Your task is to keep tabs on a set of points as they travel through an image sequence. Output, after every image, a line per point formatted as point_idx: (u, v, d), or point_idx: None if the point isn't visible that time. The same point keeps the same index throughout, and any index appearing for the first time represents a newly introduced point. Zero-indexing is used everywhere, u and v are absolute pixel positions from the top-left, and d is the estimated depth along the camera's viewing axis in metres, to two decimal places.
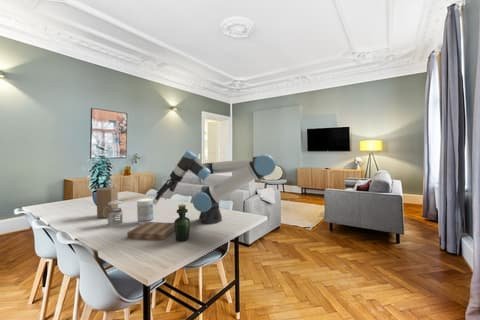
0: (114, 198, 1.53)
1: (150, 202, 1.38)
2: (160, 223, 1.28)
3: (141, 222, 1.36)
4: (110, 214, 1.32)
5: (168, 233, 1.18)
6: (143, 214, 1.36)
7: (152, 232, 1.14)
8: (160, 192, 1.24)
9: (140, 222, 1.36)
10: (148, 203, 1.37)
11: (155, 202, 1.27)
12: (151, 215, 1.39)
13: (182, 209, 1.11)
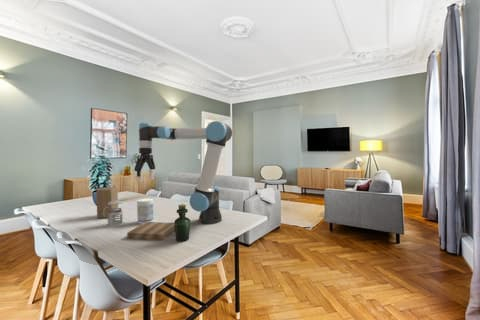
0: (114, 198, 1.53)
1: (150, 202, 1.38)
2: (160, 223, 1.28)
3: (141, 222, 1.36)
4: (110, 214, 1.32)
5: (168, 233, 1.18)
6: (143, 214, 1.36)
7: (152, 232, 1.14)
8: (137, 167, 1.29)
9: (140, 222, 1.36)
10: (148, 203, 1.37)
11: (139, 180, 1.32)
12: (151, 215, 1.39)
13: (182, 209, 1.11)
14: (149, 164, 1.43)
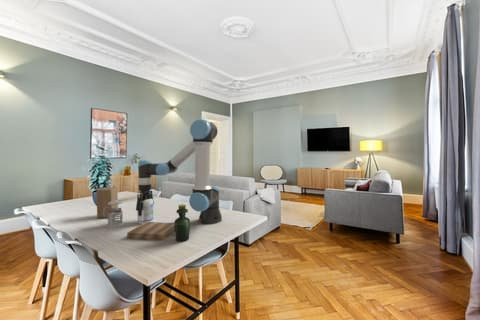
0: (114, 198, 1.53)
1: (150, 202, 1.38)
2: (160, 223, 1.28)
3: (141, 222, 1.36)
4: (110, 214, 1.32)
5: (168, 233, 1.18)
6: (143, 214, 1.36)
7: (152, 232, 1.14)
8: (138, 207, 1.32)
9: (140, 222, 1.36)
10: (148, 203, 1.37)
11: (141, 218, 1.35)
12: (151, 215, 1.39)
13: (182, 209, 1.11)
14: None
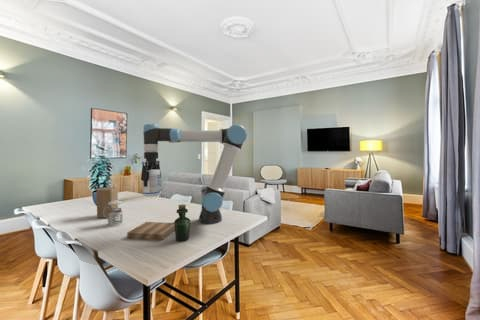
0: (114, 198, 1.53)
1: (157, 172, 1.21)
2: (160, 223, 1.28)
3: (147, 194, 1.19)
4: (110, 214, 1.32)
5: (168, 233, 1.18)
6: (149, 185, 1.19)
7: (152, 232, 1.14)
8: (143, 176, 1.15)
9: (146, 194, 1.19)
10: (155, 173, 1.20)
11: (147, 190, 1.18)
12: (158, 187, 1.22)
13: (182, 209, 1.11)
14: None
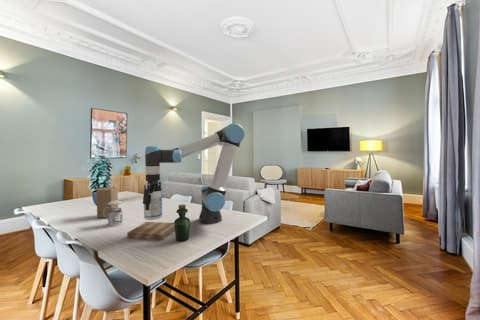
0: (114, 198, 1.53)
1: (159, 194, 1.19)
2: (160, 223, 1.28)
3: (148, 218, 1.17)
4: (110, 214, 1.32)
5: (168, 233, 1.18)
6: (151, 208, 1.17)
7: (152, 232, 1.14)
8: (145, 200, 1.13)
9: (147, 218, 1.17)
10: (156, 196, 1.18)
11: (149, 213, 1.16)
12: (160, 210, 1.20)
13: (182, 209, 1.11)
14: None
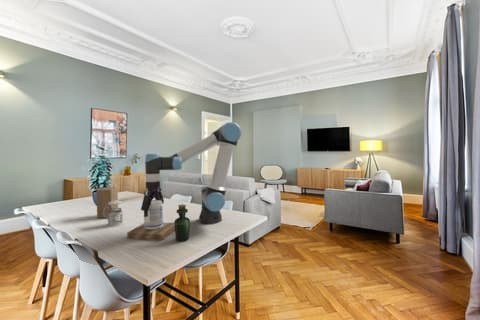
0: (114, 198, 1.53)
1: (159, 204, 1.20)
2: None
3: (149, 227, 1.17)
4: (110, 214, 1.32)
5: (168, 233, 1.18)
6: (152, 218, 1.17)
7: (152, 232, 1.14)
8: (144, 206, 1.12)
9: (148, 227, 1.18)
10: (157, 205, 1.19)
11: (147, 220, 1.14)
12: (160, 219, 1.21)
13: (182, 209, 1.11)
14: (157, 199, 1.26)
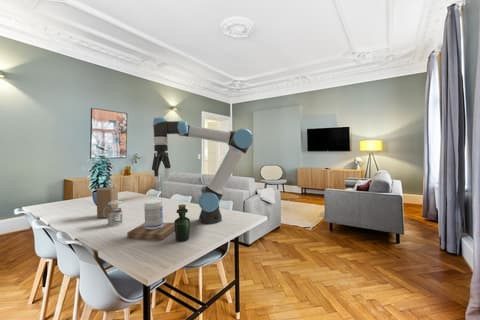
0: (114, 198, 1.53)
1: (159, 204, 1.20)
2: None
3: (149, 227, 1.17)
4: (110, 214, 1.32)
5: (168, 233, 1.18)
6: (152, 218, 1.17)
7: (152, 232, 1.14)
8: (154, 166, 1.18)
9: (148, 227, 1.18)
10: (157, 205, 1.19)
11: (157, 179, 1.20)
12: (160, 219, 1.21)
13: (182, 209, 1.11)
14: (165, 163, 1.32)
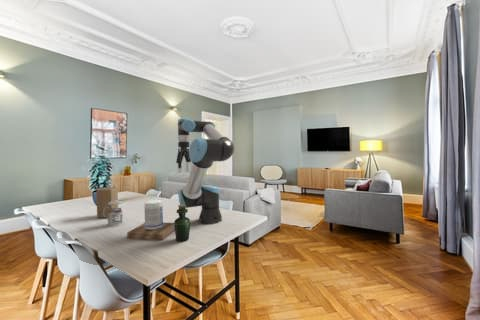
0: (114, 198, 1.53)
1: (159, 204, 1.20)
2: None
3: (149, 228, 1.17)
4: (110, 214, 1.32)
5: (168, 233, 1.18)
6: (152, 218, 1.17)
7: (152, 232, 1.14)
8: (178, 159, 1.41)
9: (148, 228, 1.18)
10: (157, 205, 1.19)
11: (180, 171, 1.44)
12: (160, 219, 1.21)
13: (182, 209, 1.11)
14: (186, 157, 1.55)
